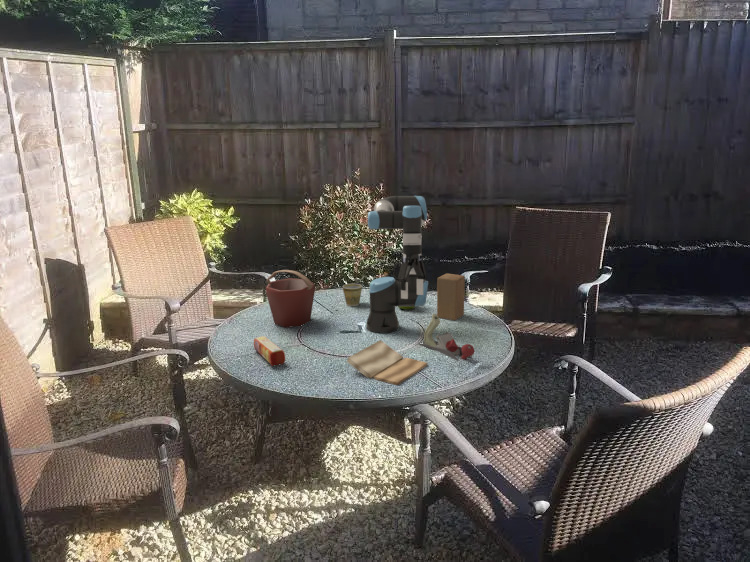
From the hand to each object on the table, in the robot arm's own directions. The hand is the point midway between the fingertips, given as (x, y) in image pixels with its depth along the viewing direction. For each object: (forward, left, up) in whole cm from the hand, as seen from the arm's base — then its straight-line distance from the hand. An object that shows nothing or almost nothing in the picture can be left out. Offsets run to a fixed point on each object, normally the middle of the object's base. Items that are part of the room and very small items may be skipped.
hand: (412, 296), depth 256 cm
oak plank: (+8, -21, -24) cm, 33 cm away
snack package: (-47, -36, -25) cm, 64 cm away
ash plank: (-4, -21, -22) cm, 31 cm away
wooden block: (-8, +50, -24) cm, 56 cm away
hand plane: (+12, +7, -25) cm, 29 cm away
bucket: (-69, +4, -24) cm, 74 cm away
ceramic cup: (-60, +42, -24) cm, 78 cm away
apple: (-33, +50, -24) cm, 65 cm away
